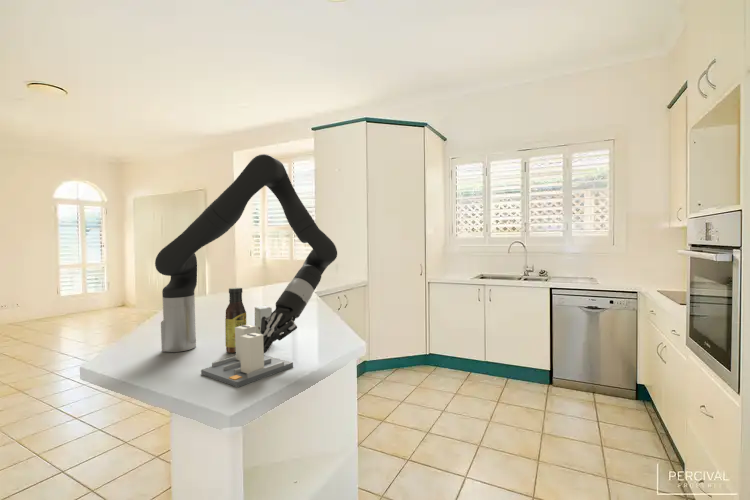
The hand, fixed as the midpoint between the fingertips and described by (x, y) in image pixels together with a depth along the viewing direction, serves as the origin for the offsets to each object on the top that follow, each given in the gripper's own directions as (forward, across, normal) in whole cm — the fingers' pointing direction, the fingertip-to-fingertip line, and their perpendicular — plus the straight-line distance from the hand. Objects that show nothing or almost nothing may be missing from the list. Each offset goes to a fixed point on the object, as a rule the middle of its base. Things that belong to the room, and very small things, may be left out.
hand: (260, 351), depth 95 cm
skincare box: (-10, -25, +19) cm, 33 cm away
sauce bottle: (-2, -24, +10) cm, 26 cm away
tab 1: (+1, -10, +5) cm, 11 cm away
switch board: (+4, -5, +4) cm, 8 cm away
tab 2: (+5, 0, +1) cm, 5 cm away
